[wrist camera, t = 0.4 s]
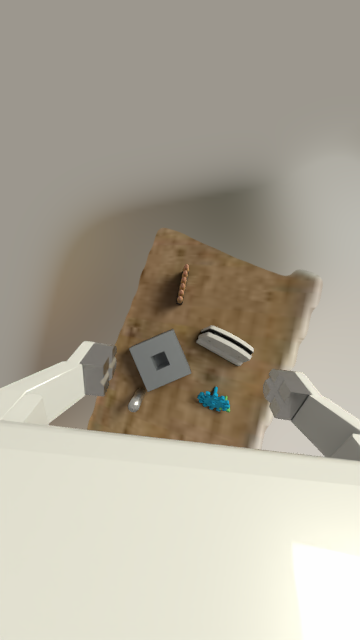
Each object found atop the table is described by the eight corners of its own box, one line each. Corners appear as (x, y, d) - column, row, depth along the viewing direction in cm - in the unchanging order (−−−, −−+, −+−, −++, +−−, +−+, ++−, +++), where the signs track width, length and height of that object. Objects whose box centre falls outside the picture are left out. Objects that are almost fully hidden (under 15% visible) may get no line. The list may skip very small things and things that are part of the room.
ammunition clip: (182, 271, 61) (184, 260, 49) (188, 272, 61) (191, 261, 49) (176, 303, 61) (176, 300, 49) (181, 304, 61) (183, 301, 49)
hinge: (194, 341, 62) (203, 335, 52) (200, 329, 63) (210, 321, 54) (238, 366, 62) (255, 364, 53) (243, 353, 64) (261, 349, 54)
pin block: (189, 367, 62) (191, 373, 56) (150, 384, 62) (147, 391, 56) (173, 328, 62) (172, 329, 56) (133, 345, 61) (128, 348, 55)
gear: (190, 399, 60) (210, 392, 53) (195, 383, 64) (214, 374, 57) (217, 416, 62) (239, 411, 55) (220, 400, 66) (241, 393, 59)
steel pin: (146, 394, 62) (140, 409, 52) (138, 398, 62) (130, 413, 52) (143, 386, 62) (136, 399, 52) (134, 389, 62) (126, 403, 52)
